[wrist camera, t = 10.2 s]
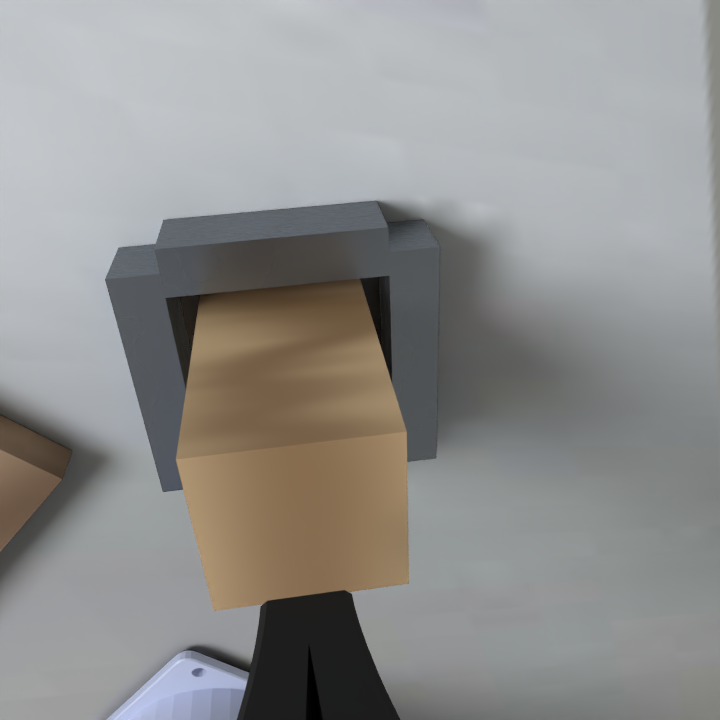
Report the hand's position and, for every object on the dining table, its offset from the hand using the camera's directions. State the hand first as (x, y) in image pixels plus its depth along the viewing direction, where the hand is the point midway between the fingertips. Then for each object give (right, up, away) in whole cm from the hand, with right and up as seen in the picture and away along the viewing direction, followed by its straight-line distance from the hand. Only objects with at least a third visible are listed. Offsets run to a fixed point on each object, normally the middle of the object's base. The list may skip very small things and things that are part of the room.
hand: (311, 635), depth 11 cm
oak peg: (-1, +5, +8) cm, 9 cm away
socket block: (-1, +5, +8) cm, 9 cm away
